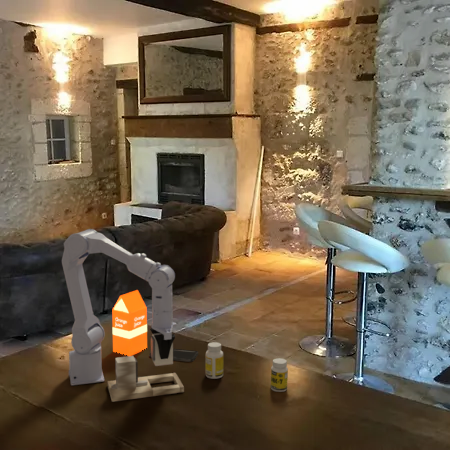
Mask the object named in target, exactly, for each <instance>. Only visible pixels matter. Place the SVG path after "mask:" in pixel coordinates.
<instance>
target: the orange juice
mask: <svg viewBox="0 0 450 450" xmlns="http://www.w3.org/2000/svg"><path fill="white" fill-rule="evenodd" d="M147 308H148V307H147V306H146V303H145V301H144V300H143V298H142V295H141V293H140V292H139V290H138V289H136V290H133V291H129V292H127V293H125V294H121V295H119V297H118V299H117V301H116V303H115V304H114V307H112V312H111V313H112V318H111V319H112V352H113V353H116V352H117V354H119V353H120V354H121V355H123V354H124V355H123V356H126V355H127V356H134V355H136V354H138V353H141V352H143V351H144V349H145V350H146V348H147V349H148V309H147ZM142 350H143V351H142ZM127 356H126V357H127Z"/></svg>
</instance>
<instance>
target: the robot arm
mask: <svg viewBox="0 0 450 450" xmlns="http://www.w3.org/2000/svg"><path fill="white" fill-rule="evenodd" d="M63 248H64V249H63V254H62V257H61V266H62V269H63V273H64V278H65V281H66V282H65V283H66V287H67V292H68V296H69V300H70V303H71V310H72V314H73V318H74V323H73V325H72V327H71V335H72V337H71V346H72V349H73V350H70V351H69V352H68V359H69V360H68V362H69V363H68V364H69V367H68V377H69V380H70V386H78V385H86V384H95V383H101V382H102V383H104V382H105V377H104V373H103V369H102V365H103V364H102V341H103V340H104V339H105V336H106V335H105V334H106V333H105V329H104V327H103V326H102V325H101V322H100V318H98V317H97V316H96V315H94V311H93V307H92V306H93V305H92V302H91V297H90V294H89V293H90V292H89V288H88V285H87V279H86V274H85V271H84V267H83V263H84V261H85V260H86V259H87V258H88V256H89V255H90V254H100V253H102V254H104V255H106V256H108V257H110V258H112V259H114V260H116V261H118V262H120V263H123V264H125V266H126V268H127V270H128V271H129V272H130V273H132V274H134V275H136V276H137V277H139V278H141V279H143V280H144V281H146V282H148V285H149V286H150V288H151V314H152V315H151V318H152V319H151V320H152V321H151V327H150V329H149V330H150V332H151V334H152V335H153V334H157V333H161V334H159V335H154V337H155V339H156V341H157V344H158V348H159V355H160V358H161V359H168V357H169V353H170V348H171V345H172V343H173V344H174V340H175V339H176V335H175V334H174V333H172V332H173V329H174V327H175V328H176V327H177V326H178V325H177V323H176V322H174V321H173V313H174V312H173V304H174V303H173V282H174V281H175V279H176V273H175V271H174V269H173V268H172V267H171V266H170V265H168V264H161V262H158V261H157V262H155V261H153V260H152V259H151V258H149V257H147V254H146V253H144V252H143V253H139V252H137V253H134V254H133V253H132V252H130V251H129V250H126V249H125V248H123V247H122V246H120V245H118V244H117V243H115V242H113V241H112V240H111V239H109V238H108V237H106V236H105V235H104V234H103V233H101V232H98V231H97V230H95V229H94V228H93V229H92V228H88V229H87V228H86V229H85V230H82V231H79V232H77V233H72V234H70V235H69V236H68V238H66V239H65V241H64V242H63Z"/></svg>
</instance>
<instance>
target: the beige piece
mask: <svg viewBox="0 0 450 450" xmlns="http://www.w3.org/2000/svg"><path fill="white" fill-rule="evenodd" d="M138 365H139V363H138V360H137V357H134V355H132V356H121V357H120V356H119V357H115V380H107V389H108V393H109V395H110V396H109V397H110V399H111V402H121V401H127V400H128V401H129V400H135V399H142V398H149V397H156V396H158V397H159V396H165V395H171V394H177V393H184V392H185V387H184V385H183V383H182V381H181V379H180V378H179V376H178V374H177V373H176V372H173V373H172V372H170V373H163V374H157V375H155V374H154V375H147V376H138V375H139V370H138V367H139V366H138ZM167 382H173V383H174V384H170V385H162V386H156V387H155V386H154V387H152V386H151V384H158V383H167Z"/></svg>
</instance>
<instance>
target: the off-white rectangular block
mask: <svg viewBox="0 0 450 450" xmlns="http://www.w3.org/2000/svg"><path fill="white" fill-rule="evenodd" d="M159 334H161V333H157V334H152V335H151V336H150V353H151V358H150V359H152V362H153V364H154V366H155V367H158V366H159V367H160V366H167V365H173V364H174V360H173V349H174V342H173V343H172V345H171V348H170V353H169V357H168V359H161V358H160V355H159V348H158V344H157V341H156V339H155V337H154V335H159Z"/></svg>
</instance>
